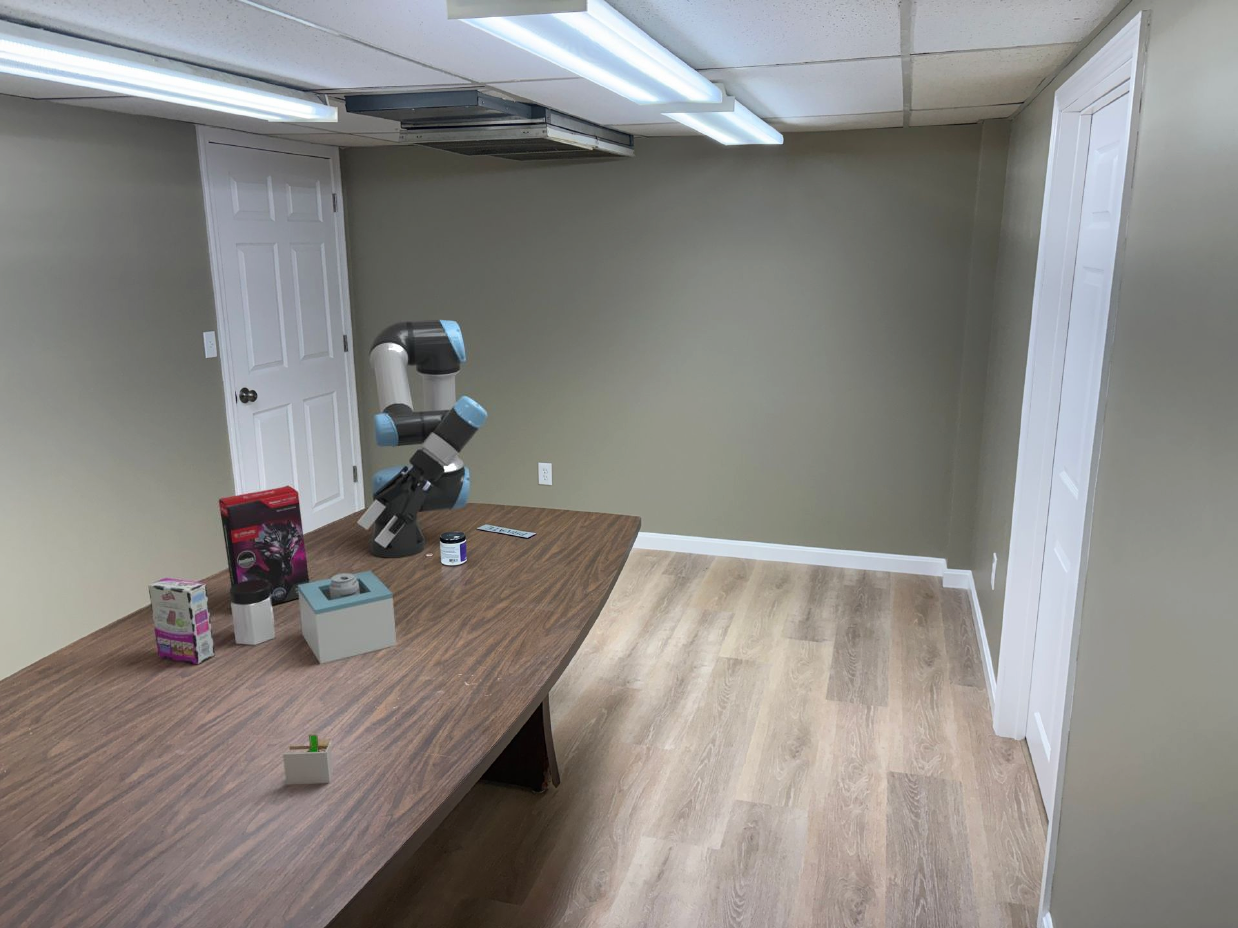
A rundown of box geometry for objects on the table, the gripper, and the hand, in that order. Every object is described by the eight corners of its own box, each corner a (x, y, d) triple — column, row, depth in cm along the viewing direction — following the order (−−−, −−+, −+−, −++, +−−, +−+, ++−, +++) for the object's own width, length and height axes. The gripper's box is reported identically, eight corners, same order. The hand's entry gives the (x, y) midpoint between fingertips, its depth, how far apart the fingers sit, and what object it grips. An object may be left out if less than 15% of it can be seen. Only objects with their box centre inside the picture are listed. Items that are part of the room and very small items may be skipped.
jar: (275, 642, 190) (269, 591, 187) (234, 648, 188) (228, 596, 185) (275, 626, 199) (270, 576, 196) (237, 631, 196) (230, 581, 193)
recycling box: (302, 635, 194) (297, 585, 191) (374, 619, 202) (370, 570, 199) (320, 663, 180) (315, 610, 177) (396, 645, 189) (392, 593, 186)
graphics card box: (240, 615, 204) (226, 504, 198) (230, 606, 209) (217, 497, 203) (311, 596, 215) (301, 490, 209) (300, 588, 220) (289, 484, 214)
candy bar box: (216, 655, 185) (207, 582, 181) (198, 665, 180) (188, 591, 176) (176, 647, 188) (166, 576, 184) (157, 657, 184) (146, 584, 180)
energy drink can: (355, 632, 195) (348, 569, 191) (370, 640, 191) (363, 576, 187) (330, 641, 190) (323, 577, 187) (345, 650, 186) (337, 584, 183)
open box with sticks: (294, 772, 144) (289, 728, 142) (336, 770, 145) (331, 727, 143) (286, 786, 140) (281, 742, 138) (329, 784, 141) (325, 740, 139)
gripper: (466, 481, 184) (401, 561, 180) (426, 456, 204) (367, 528, 201) (440, 460, 180) (373, 542, 176) (402, 437, 200) (342, 510, 197)
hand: (370, 535), depth 188 cm, fingers open, 13 cm apart
